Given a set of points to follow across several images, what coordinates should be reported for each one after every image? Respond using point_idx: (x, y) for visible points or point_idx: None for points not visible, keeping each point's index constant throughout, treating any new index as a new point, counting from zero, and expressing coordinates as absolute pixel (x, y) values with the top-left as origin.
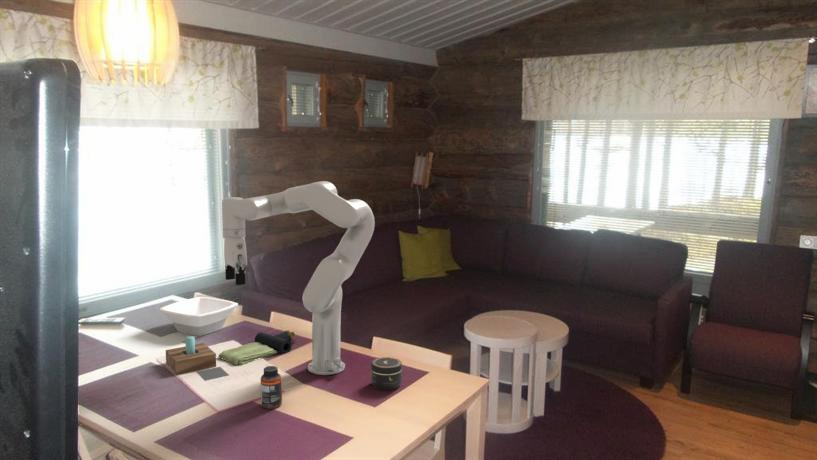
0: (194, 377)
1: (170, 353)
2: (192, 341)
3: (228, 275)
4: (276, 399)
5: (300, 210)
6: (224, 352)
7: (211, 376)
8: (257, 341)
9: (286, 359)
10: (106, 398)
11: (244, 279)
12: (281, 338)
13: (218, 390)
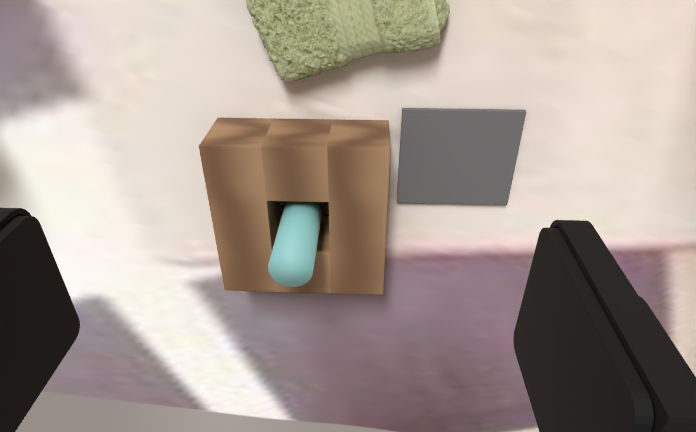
0: (436, 216)
1: (277, 287)
2: (314, 257)
3: (30, 359)
4: None
5: None
6: (292, 58)
7: (484, 173)
8: None
9: None
10: (427, 409)
11: (620, 290)
12: None
13: (621, 190)
